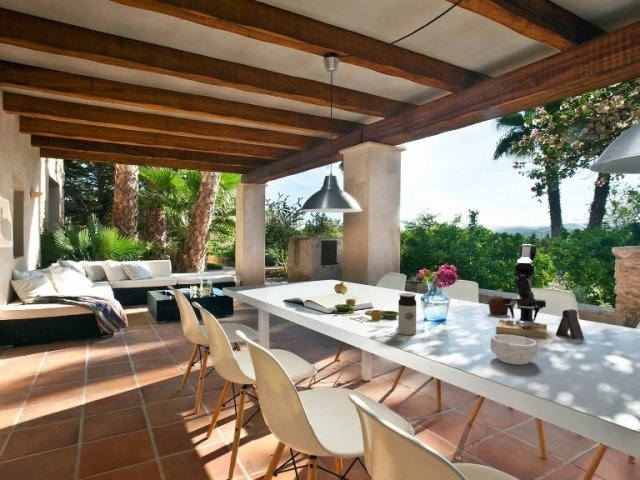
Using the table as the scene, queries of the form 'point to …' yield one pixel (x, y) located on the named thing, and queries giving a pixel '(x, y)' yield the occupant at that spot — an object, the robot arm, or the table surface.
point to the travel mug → (407, 314)
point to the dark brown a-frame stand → (570, 325)
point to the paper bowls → (513, 349)
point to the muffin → (497, 306)
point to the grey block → (523, 323)
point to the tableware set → (374, 313)
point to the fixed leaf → (522, 329)
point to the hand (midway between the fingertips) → (523, 319)
